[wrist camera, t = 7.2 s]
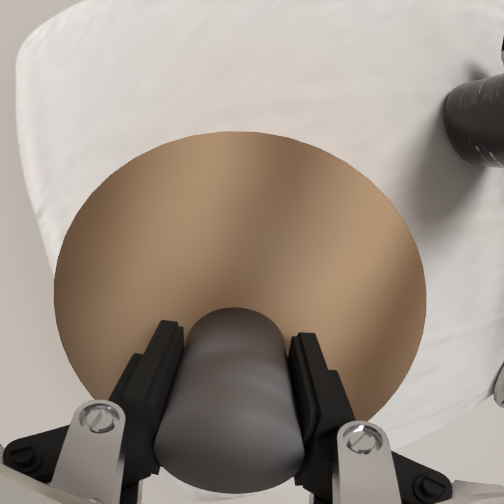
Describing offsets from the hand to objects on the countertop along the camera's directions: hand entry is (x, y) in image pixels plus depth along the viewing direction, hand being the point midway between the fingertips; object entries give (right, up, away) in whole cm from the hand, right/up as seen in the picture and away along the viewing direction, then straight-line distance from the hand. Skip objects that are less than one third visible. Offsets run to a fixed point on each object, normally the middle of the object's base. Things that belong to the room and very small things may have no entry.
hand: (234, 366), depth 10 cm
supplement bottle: (+18, +14, +9) cm, 25 cm away
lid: (0, +1, +2) cm, 2 cm away
